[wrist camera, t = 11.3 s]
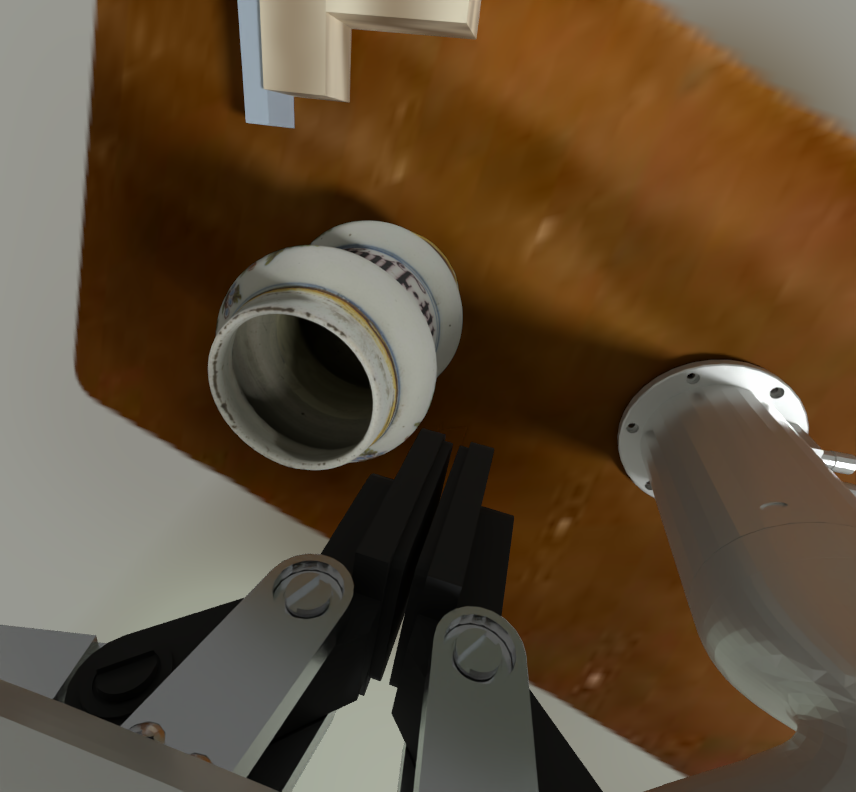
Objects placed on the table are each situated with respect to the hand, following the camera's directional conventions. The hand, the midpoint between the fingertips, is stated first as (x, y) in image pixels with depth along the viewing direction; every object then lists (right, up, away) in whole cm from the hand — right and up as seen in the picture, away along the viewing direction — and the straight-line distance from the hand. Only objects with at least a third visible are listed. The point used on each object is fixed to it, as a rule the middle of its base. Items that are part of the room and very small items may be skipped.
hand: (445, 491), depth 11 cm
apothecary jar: (-3, +10, +26) cm, 28 cm away
